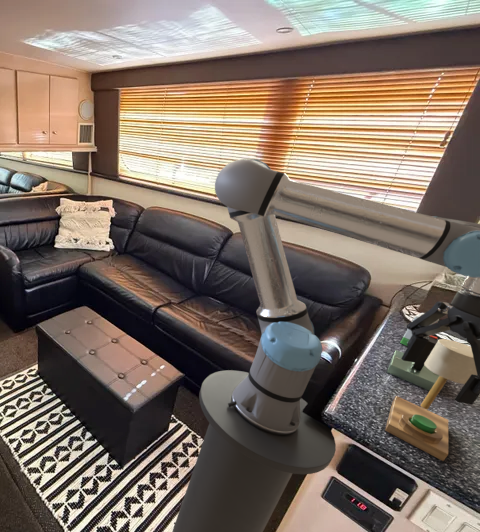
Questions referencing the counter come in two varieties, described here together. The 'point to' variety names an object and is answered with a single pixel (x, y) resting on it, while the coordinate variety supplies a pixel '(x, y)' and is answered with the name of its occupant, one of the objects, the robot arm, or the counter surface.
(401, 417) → the lamp base
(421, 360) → the black thin upright slab
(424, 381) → the dimmer
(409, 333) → the ink box
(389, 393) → the counter surface
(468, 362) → the lamp
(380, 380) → the counter surface
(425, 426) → the lamp button
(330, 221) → the robot arm
